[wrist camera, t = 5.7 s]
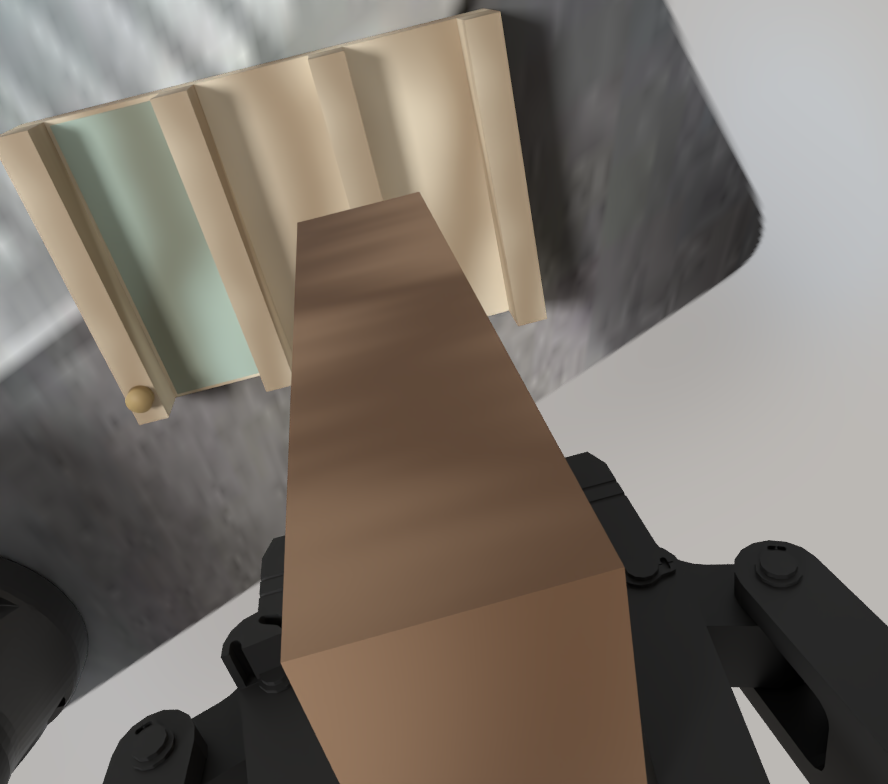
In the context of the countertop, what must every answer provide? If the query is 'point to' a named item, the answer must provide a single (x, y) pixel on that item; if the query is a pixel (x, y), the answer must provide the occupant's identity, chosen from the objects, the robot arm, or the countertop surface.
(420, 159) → the slotted rack
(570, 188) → the countertop surface
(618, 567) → the wooden block
